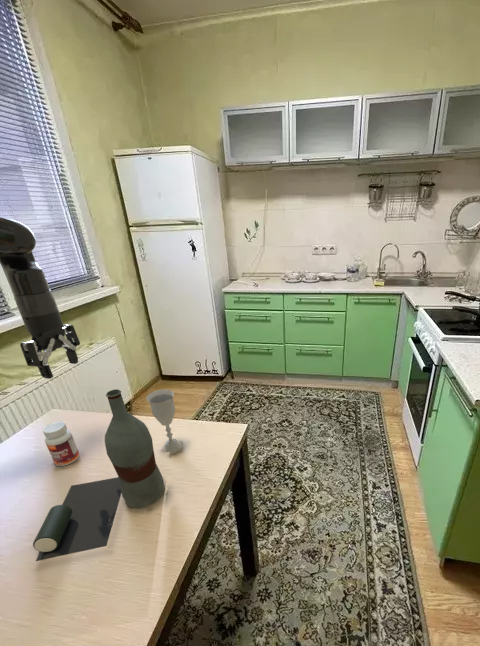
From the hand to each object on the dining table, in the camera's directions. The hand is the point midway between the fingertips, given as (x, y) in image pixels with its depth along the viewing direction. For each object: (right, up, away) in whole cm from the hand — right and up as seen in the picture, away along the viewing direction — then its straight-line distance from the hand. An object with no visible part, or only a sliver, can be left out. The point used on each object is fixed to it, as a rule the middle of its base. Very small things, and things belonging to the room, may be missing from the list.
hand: (62, 370), depth 85 cm
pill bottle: (-3, -26, +7) cm, 27 cm away
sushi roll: (+10, -35, -16) cm, 40 cm away
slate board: (+14, -34, -11) cm, 38 cm away
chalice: (+26, -23, +10) cm, 36 cm away
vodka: (+25, -31, -6) cm, 41 cm away
